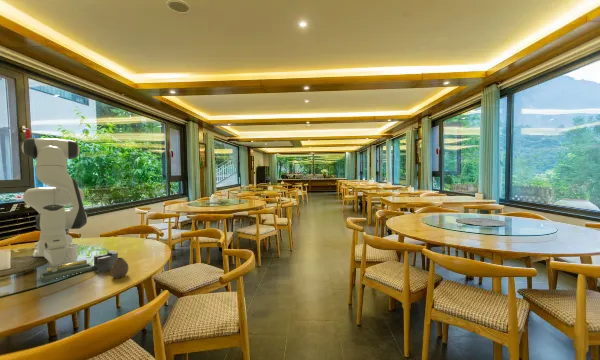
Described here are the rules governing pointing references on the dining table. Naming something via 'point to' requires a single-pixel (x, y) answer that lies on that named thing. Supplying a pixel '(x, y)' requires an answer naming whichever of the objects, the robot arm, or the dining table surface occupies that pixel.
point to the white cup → (71, 253)
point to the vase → (119, 268)
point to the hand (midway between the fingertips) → (53, 270)
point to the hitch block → (105, 261)
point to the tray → (66, 272)
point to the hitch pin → (69, 265)
